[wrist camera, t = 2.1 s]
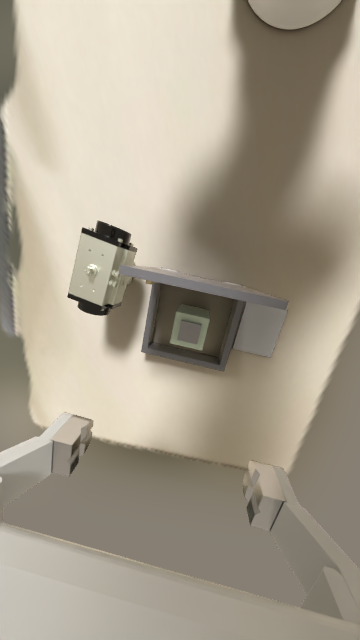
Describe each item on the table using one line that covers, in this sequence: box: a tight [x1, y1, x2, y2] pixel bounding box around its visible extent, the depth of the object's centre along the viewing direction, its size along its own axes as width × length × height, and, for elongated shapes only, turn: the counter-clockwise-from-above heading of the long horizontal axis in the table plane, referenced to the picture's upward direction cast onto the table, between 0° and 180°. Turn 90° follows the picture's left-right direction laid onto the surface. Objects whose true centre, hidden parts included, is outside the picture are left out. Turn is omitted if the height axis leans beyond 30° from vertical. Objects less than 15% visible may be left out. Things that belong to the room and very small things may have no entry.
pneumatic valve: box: [68, 221, 137, 316], centre depth 29 cm, size 6×12×12 cm, turn 159°
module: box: [170, 304, 210, 350], centre depth 32 cm, size 5×5×8 cm
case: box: [119, 265, 289, 371], centre depth 27 cm, size 15×15×17 cm
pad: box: [233, 302, 288, 358], centre depth 34 cm, size 9×7×1 cm
